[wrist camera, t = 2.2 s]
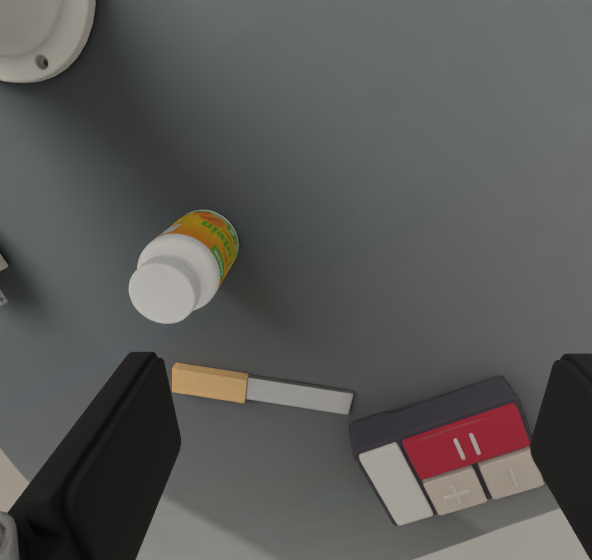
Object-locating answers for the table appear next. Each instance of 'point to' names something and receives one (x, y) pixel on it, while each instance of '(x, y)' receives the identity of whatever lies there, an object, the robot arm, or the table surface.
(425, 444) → the calculator
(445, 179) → the table surface
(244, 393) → the chisel
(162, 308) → the supplement bottle
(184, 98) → the table surface
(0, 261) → the usb wall charger
